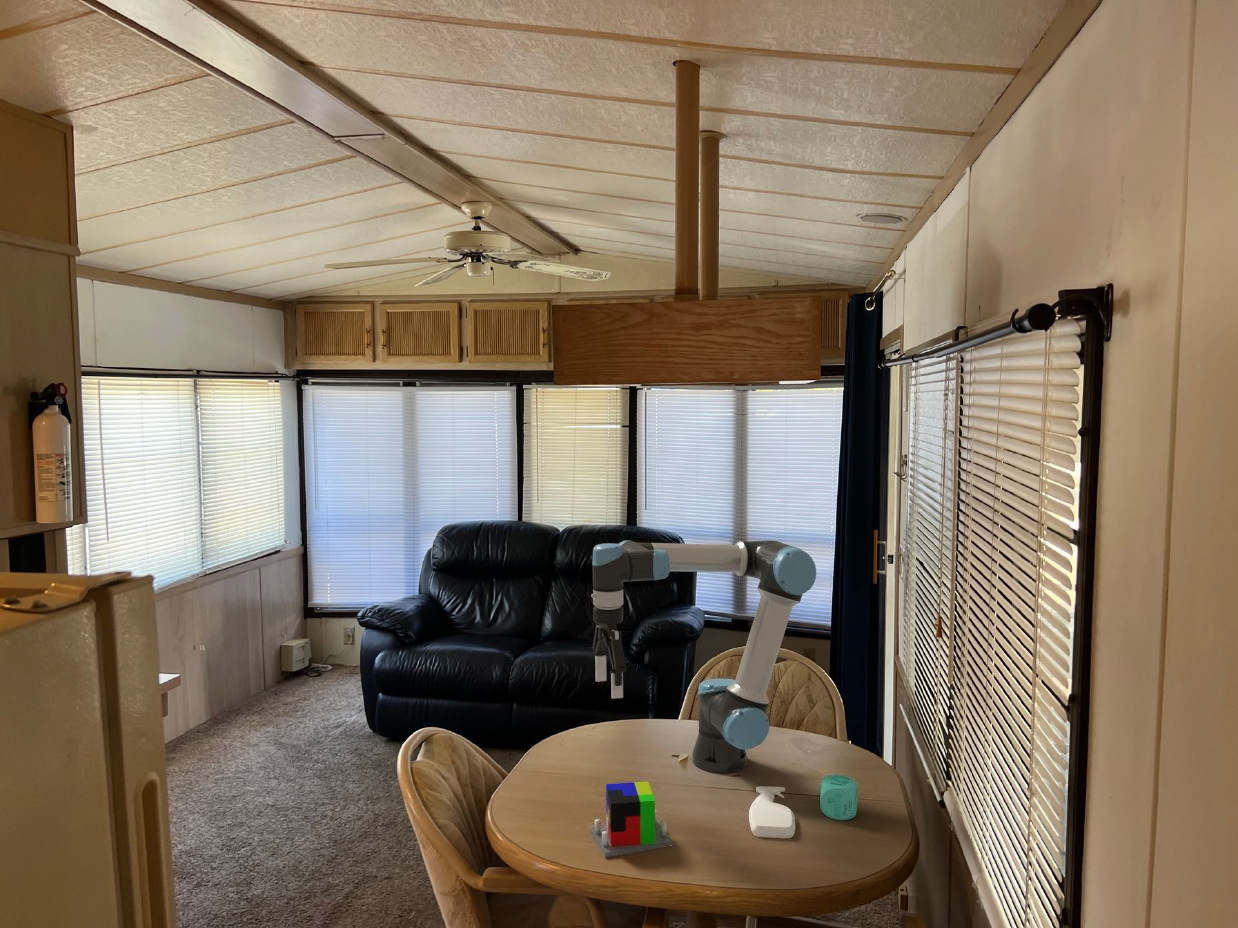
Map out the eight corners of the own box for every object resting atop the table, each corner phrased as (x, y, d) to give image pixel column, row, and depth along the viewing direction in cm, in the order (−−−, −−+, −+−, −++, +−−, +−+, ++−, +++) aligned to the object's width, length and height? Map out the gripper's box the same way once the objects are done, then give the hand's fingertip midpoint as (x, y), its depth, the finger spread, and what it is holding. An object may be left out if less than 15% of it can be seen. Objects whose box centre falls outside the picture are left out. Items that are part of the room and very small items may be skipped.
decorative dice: (819, 817, 210) (820, 785, 209) (824, 802, 217) (825, 771, 216) (853, 822, 207) (854, 790, 206) (857, 808, 214) (857, 776, 214)
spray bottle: (749, 838, 201) (747, 792, 225) (797, 840, 199) (790, 794, 223) (749, 825, 200) (747, 781, 225) (797, 828, 199) (790, 783, 223)
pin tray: (653, 821, 208) (653, 804, 208) (672, 845, 197) (672, 827, 196) (589, 832, 203) (589, 814, 203) (605, 857, 192) (604, 839, 191)
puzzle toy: (606, 824, 204) (606, 783, 203) (648, 822, 205) (648, 781, 205) (611, 846, 194) (610, 803, 193) (655, 843, 195) (654, 800, 195)
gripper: (580, 596, 227) (581, 675, 228) (608, 619, 203) (609, 707, 205) (607, 594, 229) (608, 672, 231) (638, 616, 205) (639, 703, 207)
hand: (608, 689), depth 218 cm, fingers open, 13 cm apart
